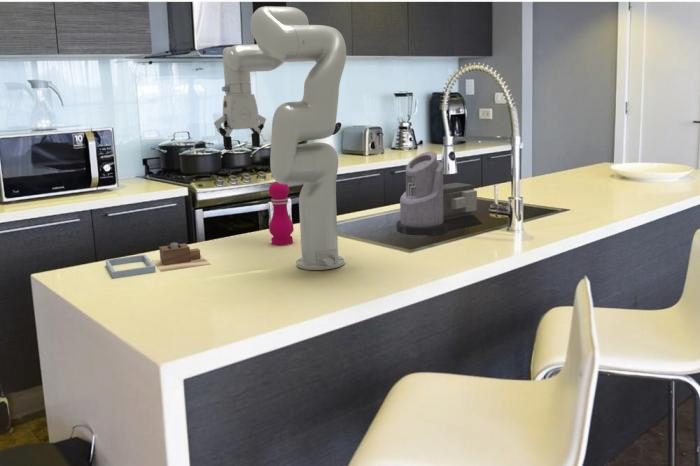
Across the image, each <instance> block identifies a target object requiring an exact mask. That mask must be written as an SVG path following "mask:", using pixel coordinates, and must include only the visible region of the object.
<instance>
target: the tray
mask: <svg viewBox="0 0 700 466" xmlns="http://www.w3.org/2000/svg"><path fill="white" fill-rule="evenodd" d="M141 262H144V263H145V265H146V266H143V267H142V266H141V267H135V268H127V269H121V270H120V269H119V270H115V268H114V267H113V266H118V265H127V264H133V263H141ZM105 266H106V268H107V271H108V272H109V273H110V276H111V278H112V279H114V280H115V279H121V278H127V277H132V276H141V275H147V274H154V273H156V272H157V271H156V265H155V264H154V263H153V262H152V261H151V259H150V258H149V257H148V256H147V255H146V254H139V255H138V254H137V255H132V256H125V257H119V258H109V259H105Z"/></svg>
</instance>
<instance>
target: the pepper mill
mask: <svg viewBox="0 0 700 466" xmlns="http://www.w3.org/2000/svg"><path fill="white" fill-rule="evenodd" d="M268 194H269V195H270V197H271V199H270V200H271V202H270V203H271V204H272V209H273V211H272V212H273V213H272V217H271V220H270V223H269V226H268V227H269V228H268V231H269V233H270V234H271V236H272V237H271V244H272V245H273V246H288V244H289V245H292V244H293V240H294V239H293V236H292V234H293V232H294V230H295V229H294V224H293V221H292V218H291V217H290V215H289V212H288V203H289V198H288V196H289V195H290V188H289V184H280V183H278V182H276V181H274V182H272V183H271V184H270V185H269V187H268Z"/></svg>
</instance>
